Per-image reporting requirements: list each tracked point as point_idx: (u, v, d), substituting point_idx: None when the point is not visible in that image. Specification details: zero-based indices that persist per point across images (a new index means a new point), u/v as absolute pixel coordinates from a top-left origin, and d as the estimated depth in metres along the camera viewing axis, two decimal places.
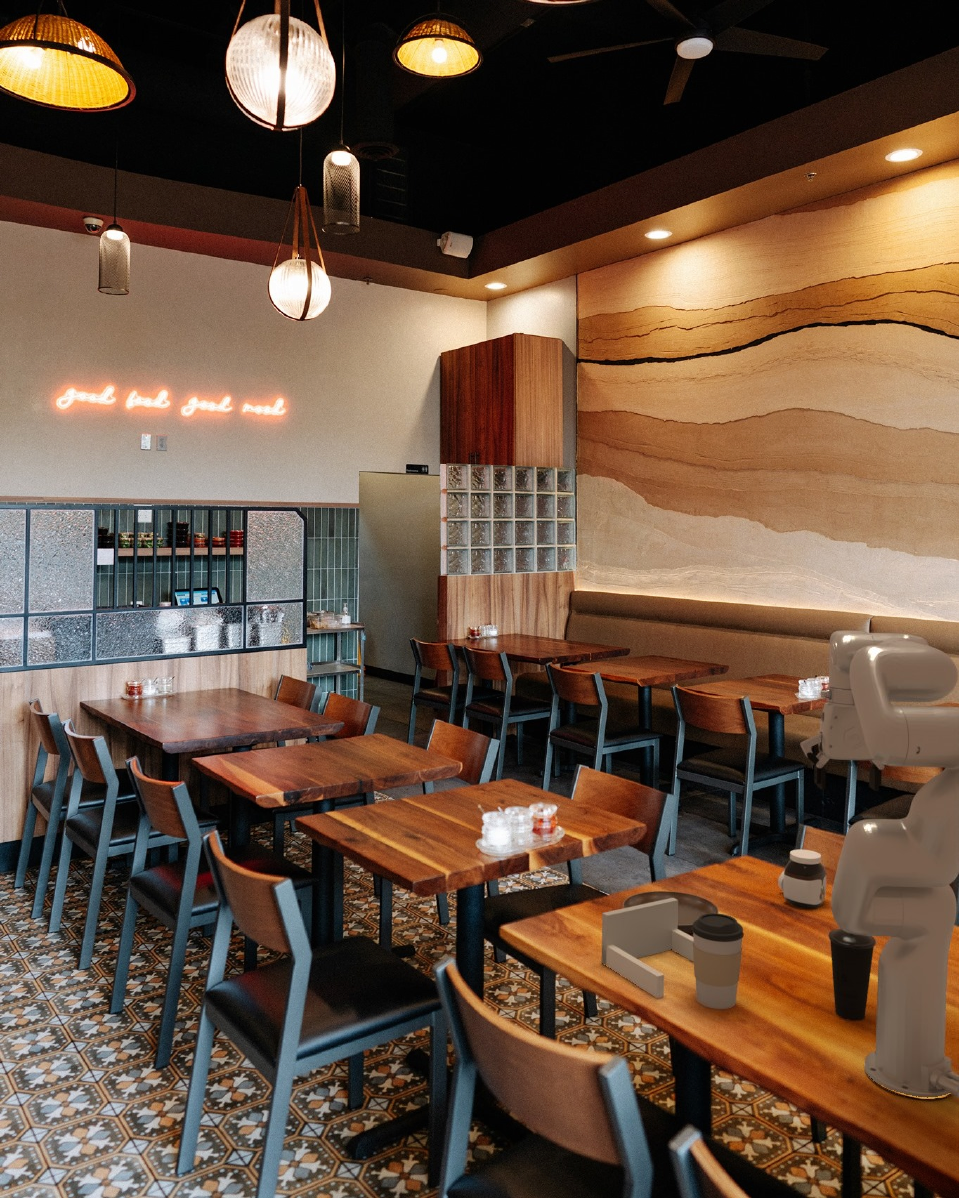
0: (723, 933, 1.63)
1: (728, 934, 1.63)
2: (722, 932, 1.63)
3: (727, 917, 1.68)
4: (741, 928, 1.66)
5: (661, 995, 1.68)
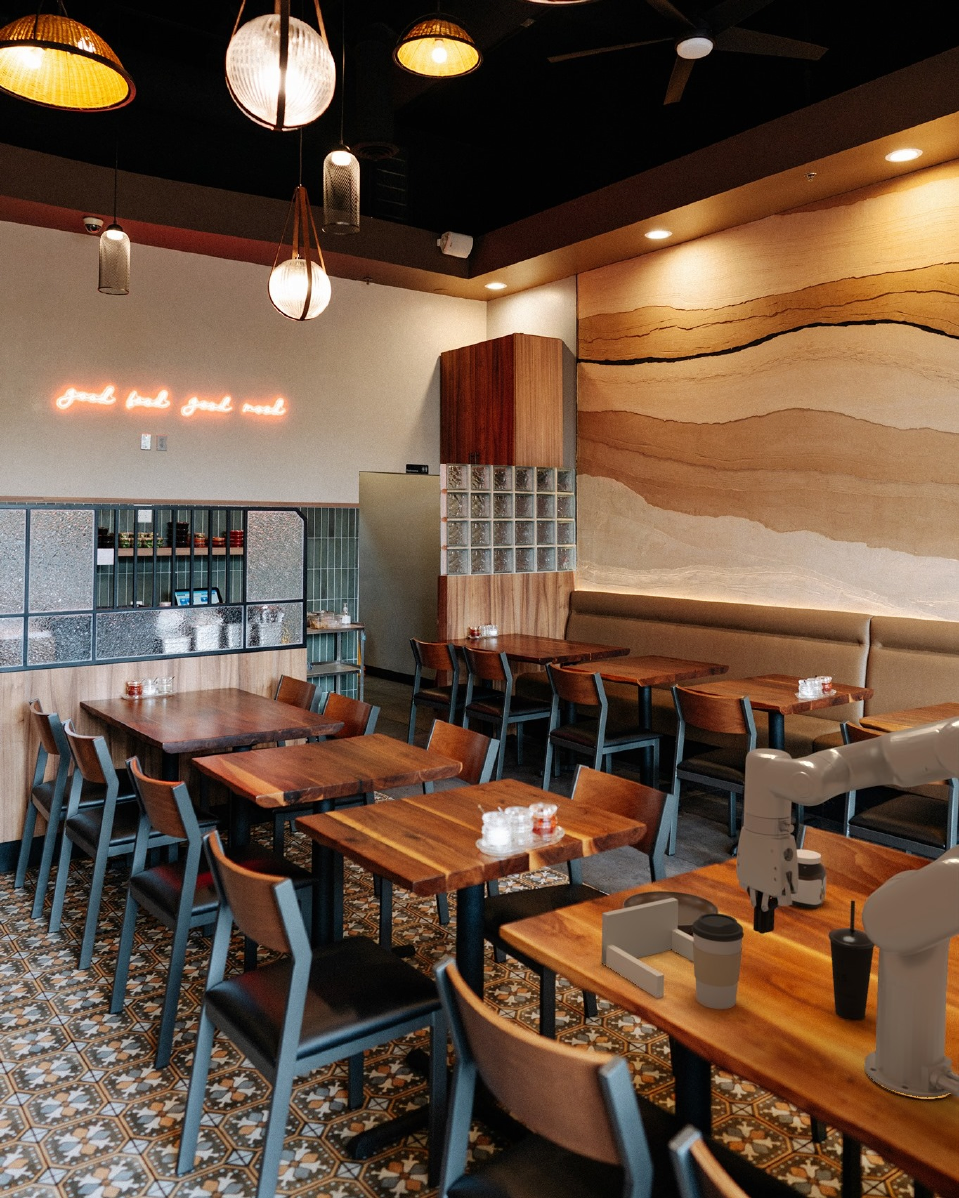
0: (723, 933, 1.63)
1: (728, 934, 1.63)
2: (722, 932, 1.63)
3: (727, 917, 1.68)
4: (741, 928, 1.66)
5: (661, 995, 1.68)
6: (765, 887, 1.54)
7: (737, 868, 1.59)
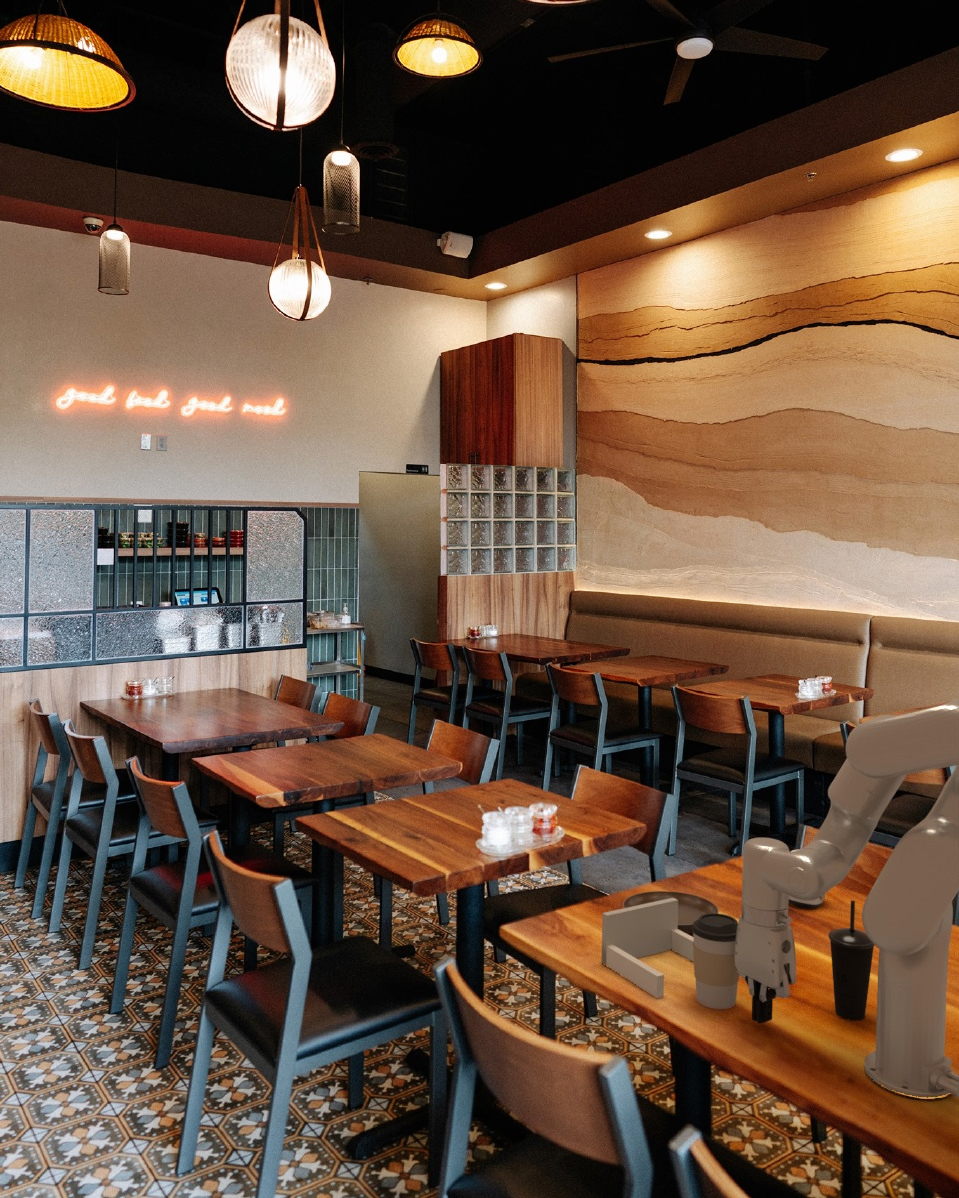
0: (723, 933, 1.63)
1: (728, 934, 1.63)
2: (722, 932, 1.63)
3: (727, 917, 1.68)
4: None
5: (661, 995, 1.68)
6: (763, 978, 1.54)
7: (735, 956, 1.60)
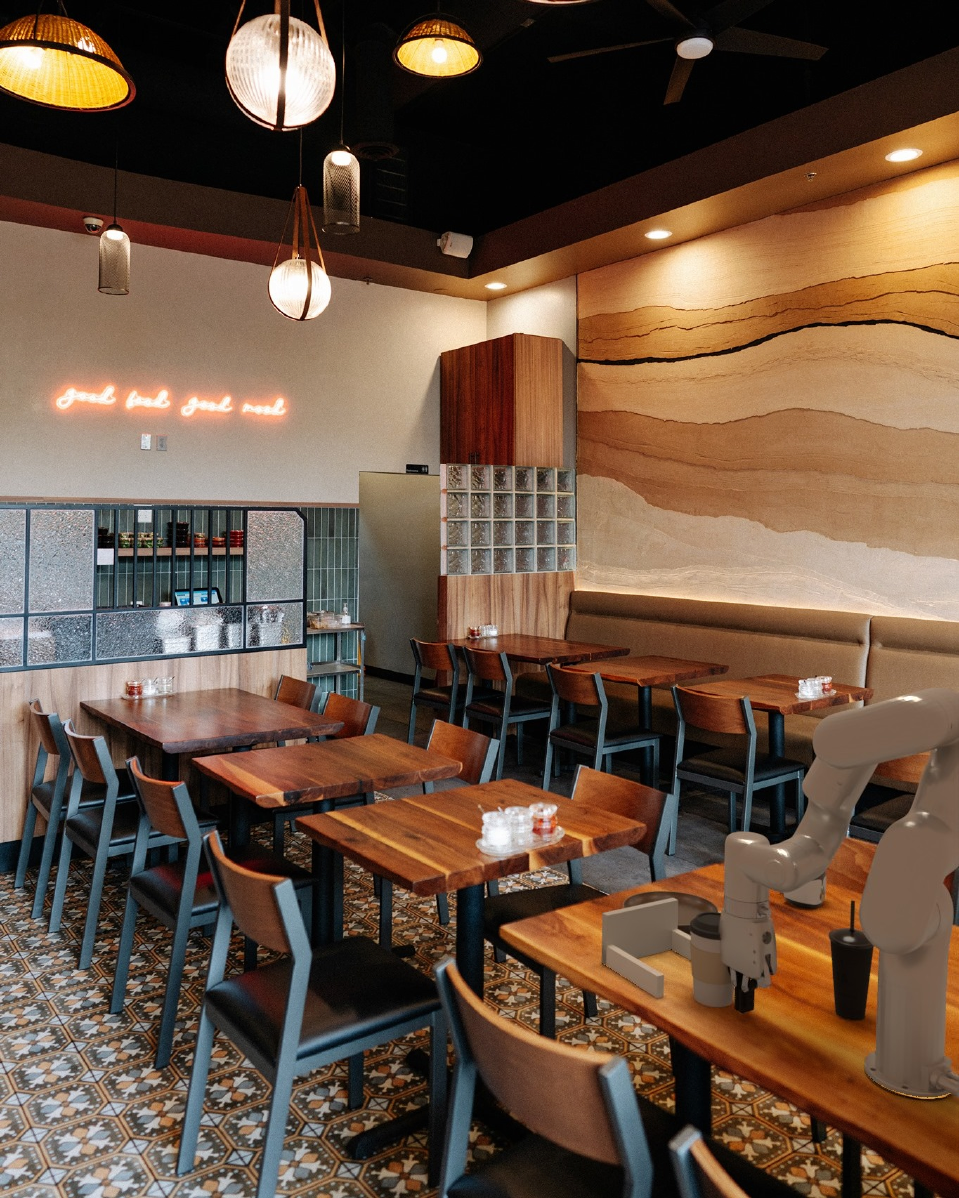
0: None
1: None
2: None
3: None
4: None
5: (661, 995, 1.68)
6: (745, 969, 1.58)
7: None
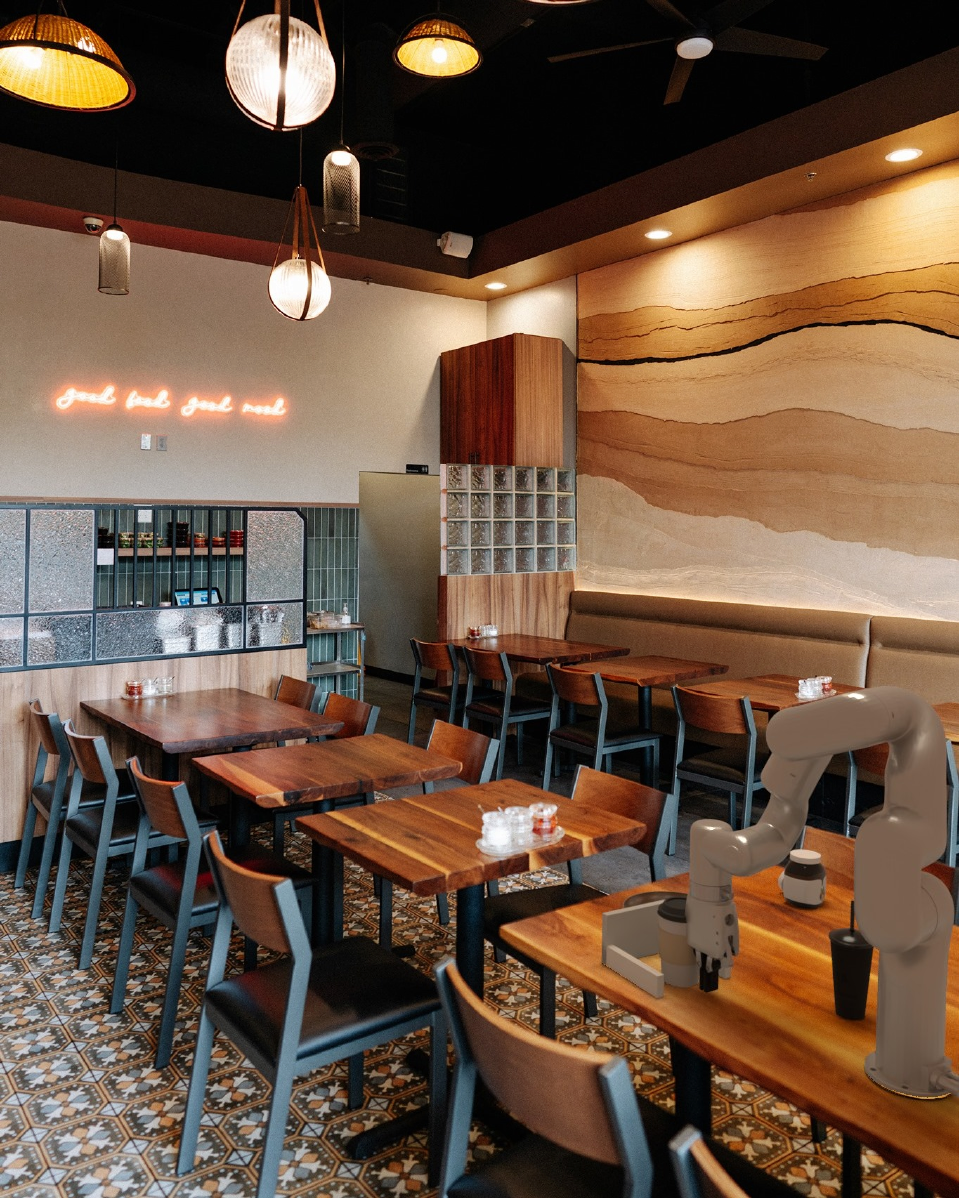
0: None
1: None
2: None
3: None
4: None
5: (661, 995, 1.68)
6: (708, 950, 1.65)
7: None
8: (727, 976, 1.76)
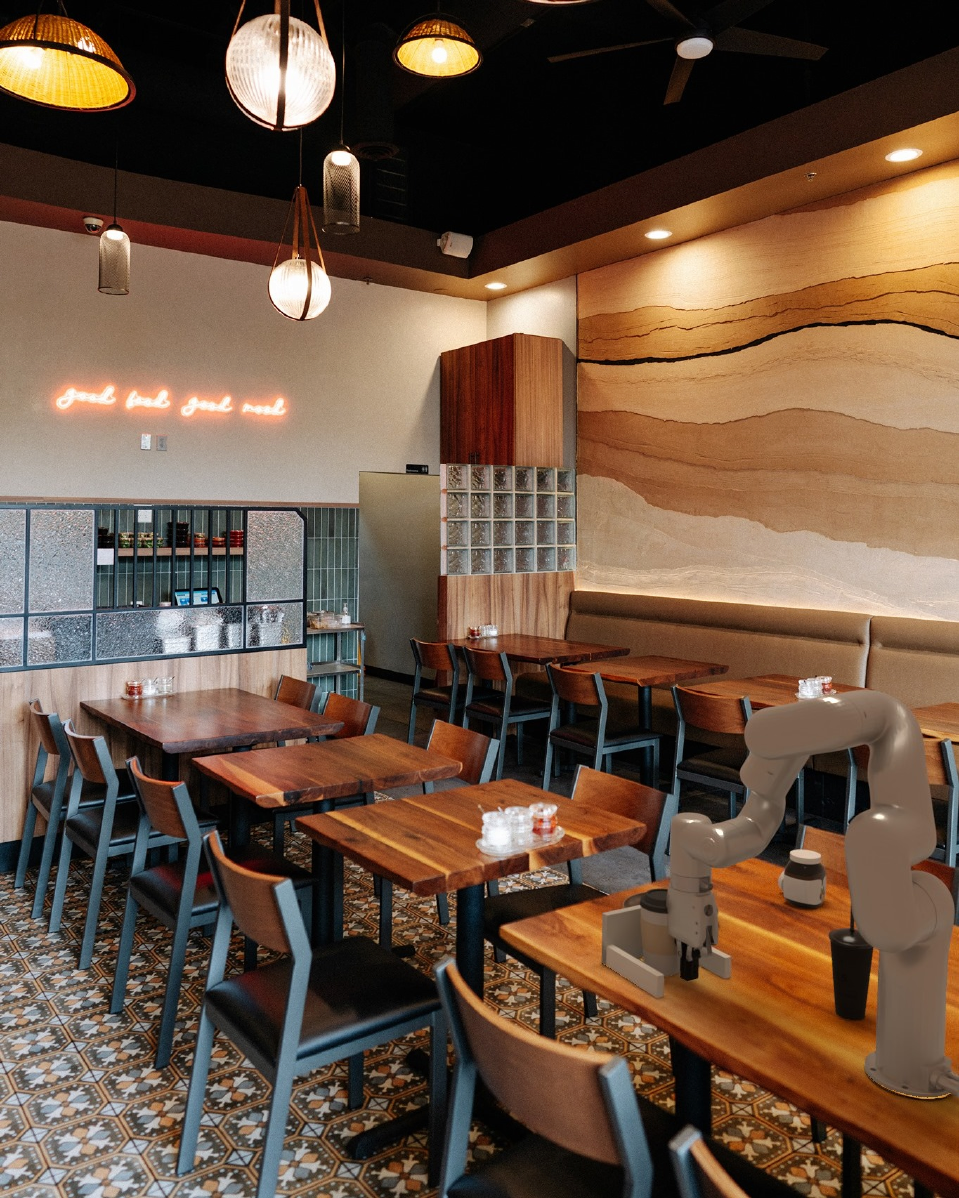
0: None
1: None
2: None
3: None
4: None
5: (661, 995, 1.68)
6: (688, 939, 1.70)
7: None
8: (727, 976, 1.76)
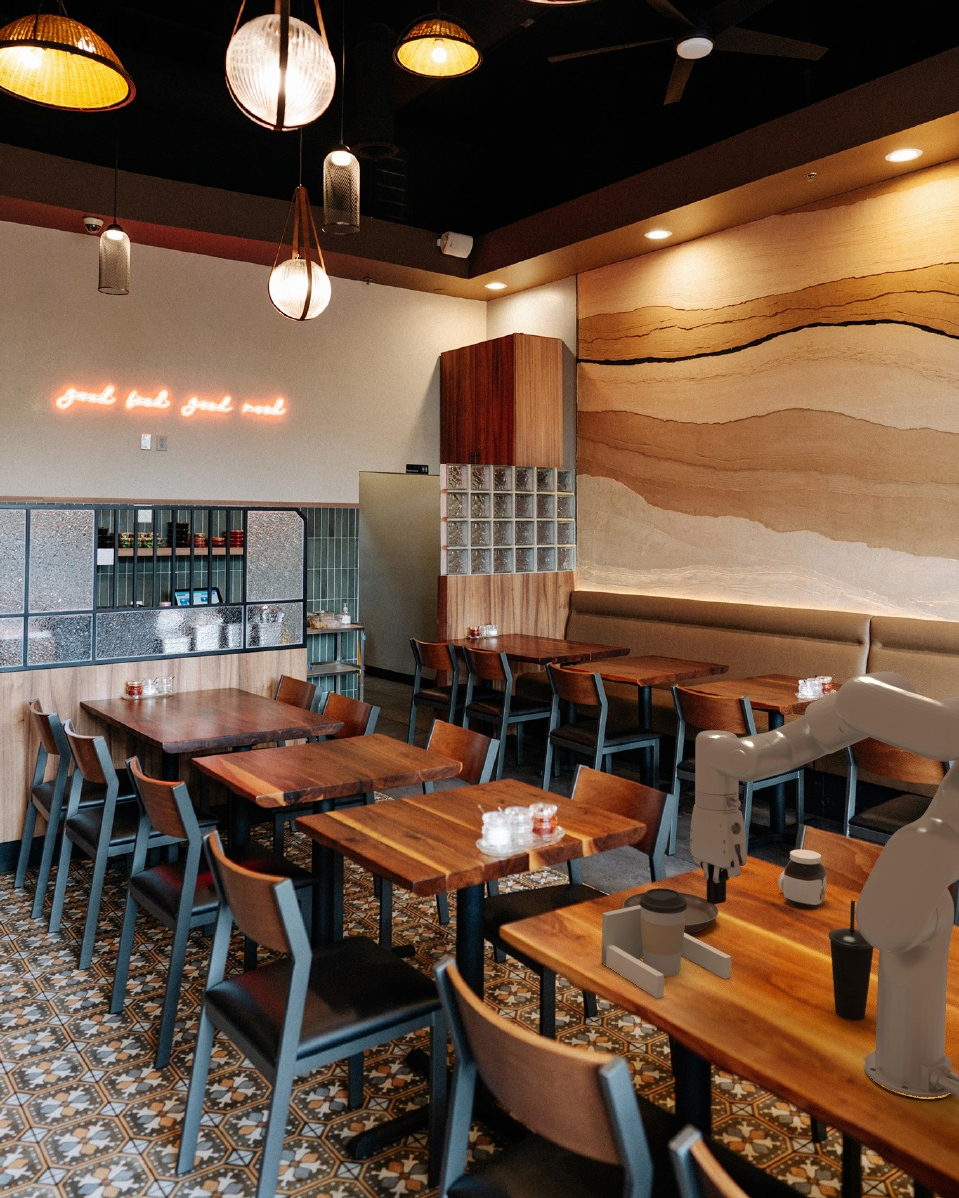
0: (667, 906, 1.76)
1: (672, 906, 1.75)
2: (666, 905, 1.76)
3: (672, 891, 1.81)
4: (684, 901, 1.78)
5: (661, 995, 1.68)
6: (715, 860, 1.64)
7: (691, 844, 1.69)
8: (727, 976, 1.76)
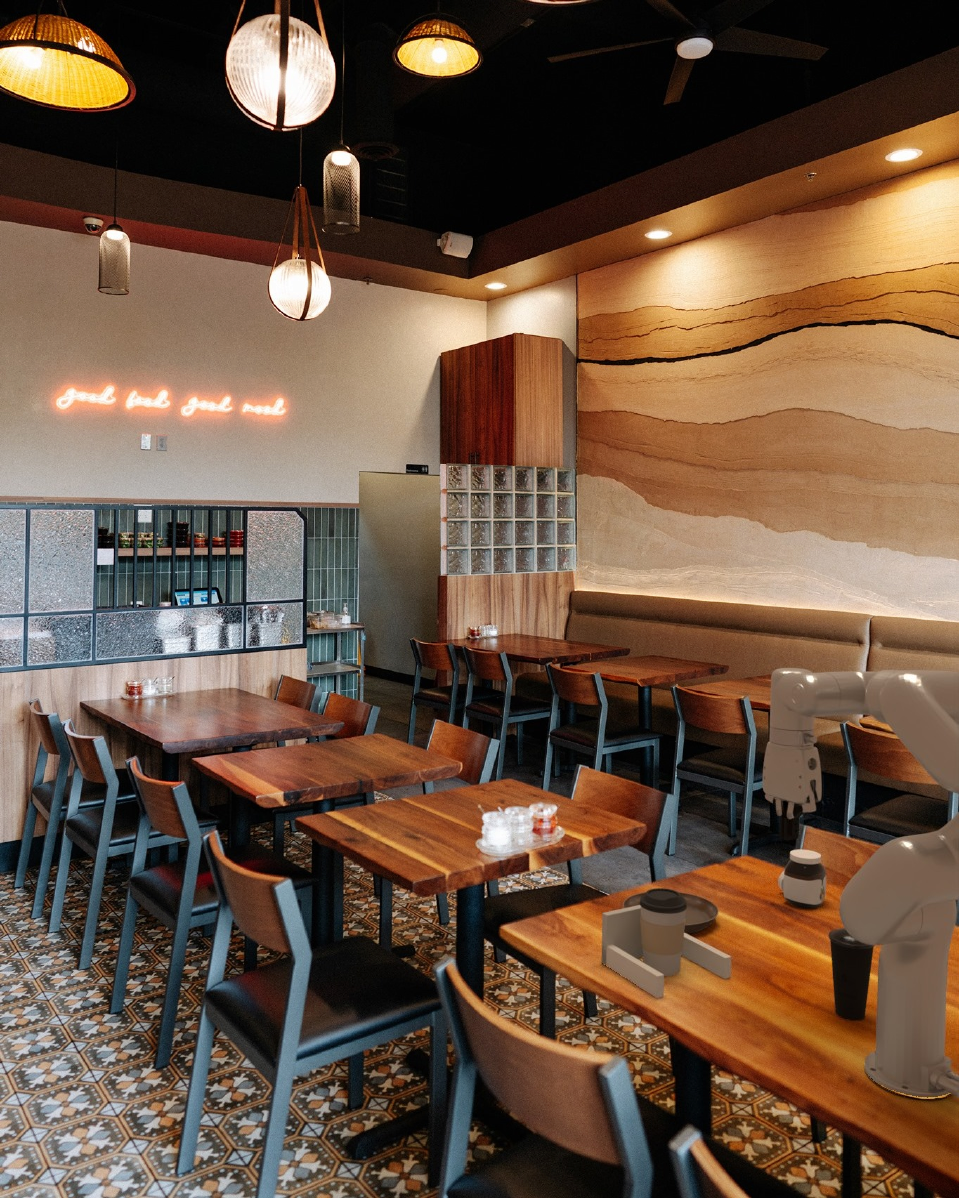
0: (667, 906, 1.76)
1: (672, 906, 1.75)
2: (666, 905, 1.76)
3: (672, 891, 1.81)
4: (684, 901, 1.78)
5: (661, 995, 1.68)
6: (790, 795, 1.64)
7: (763, 781, 1.70)
8: (727, 976, 1.76)
